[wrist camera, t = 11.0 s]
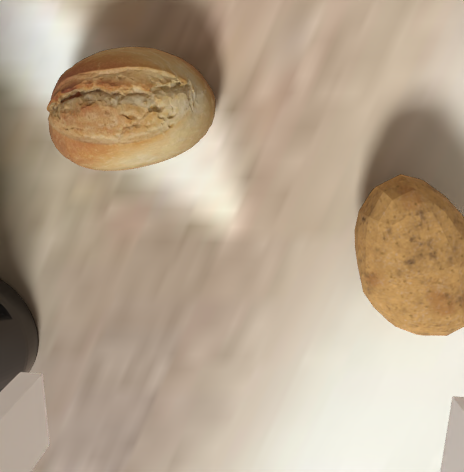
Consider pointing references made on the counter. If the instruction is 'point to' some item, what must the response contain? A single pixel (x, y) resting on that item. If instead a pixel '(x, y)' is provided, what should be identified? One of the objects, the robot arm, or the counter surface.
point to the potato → (412, 256)
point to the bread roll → (129, 109)
